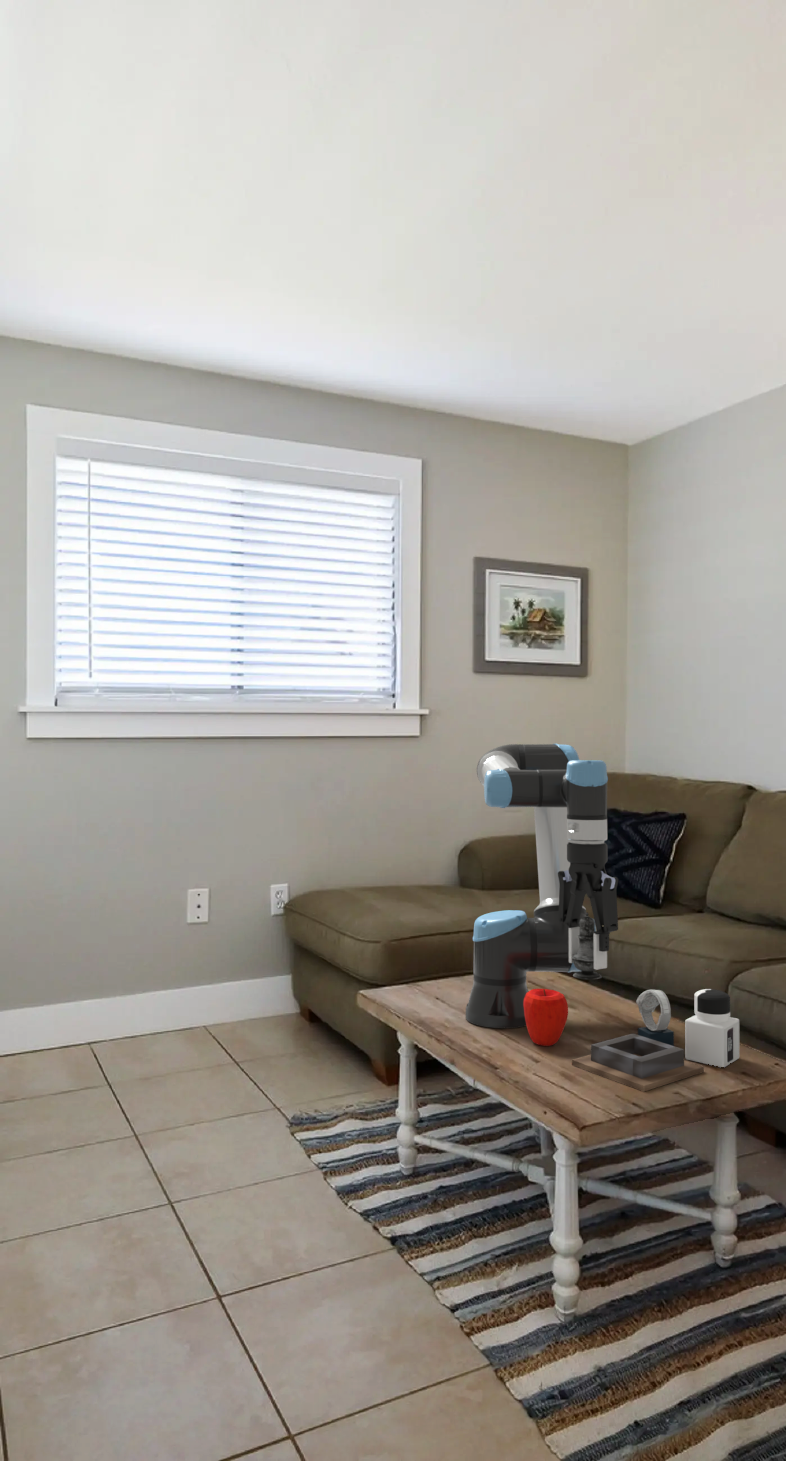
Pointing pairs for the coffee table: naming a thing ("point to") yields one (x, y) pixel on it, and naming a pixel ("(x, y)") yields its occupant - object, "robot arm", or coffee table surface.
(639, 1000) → the watch
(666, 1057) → the holder
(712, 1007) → the container
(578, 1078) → the coffee table surface
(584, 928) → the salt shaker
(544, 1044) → the apple
